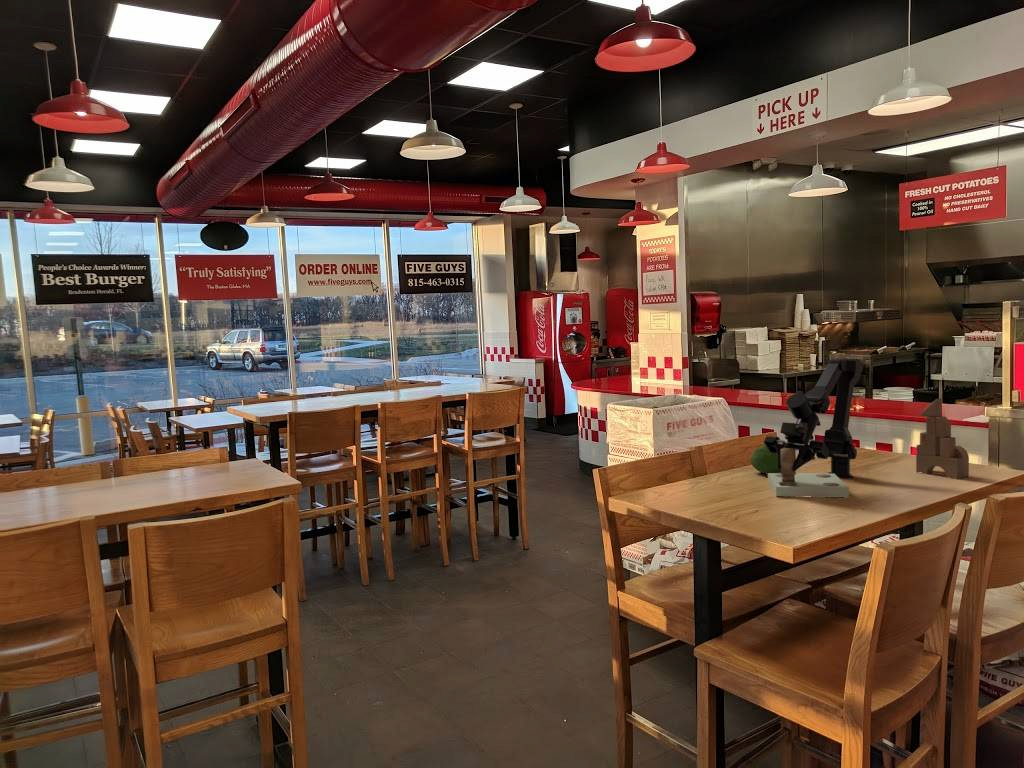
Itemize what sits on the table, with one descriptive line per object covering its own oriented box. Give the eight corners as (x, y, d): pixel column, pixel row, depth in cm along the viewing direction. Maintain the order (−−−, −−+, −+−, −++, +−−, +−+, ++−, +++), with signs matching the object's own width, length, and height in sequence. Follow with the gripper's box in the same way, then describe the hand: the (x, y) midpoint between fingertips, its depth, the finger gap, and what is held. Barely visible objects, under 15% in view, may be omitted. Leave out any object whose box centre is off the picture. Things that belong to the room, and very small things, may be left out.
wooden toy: (970, 476, 231) (970, 398, 229) (957, 479, 228) (958, 400, 226) (923, 469, 245) (923, 395, 243) (911, 471, 242) (911, 397, 240)
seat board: (768, 482, 234) (767, 472, 234) (834, 482, 230) (834, 473, 229) (776, 496, 215) (775, 486, 215) (848, 497, 210) (848, 487, 210)
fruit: (801, 475, 243) (801, 445, 242) (783, 479, 237) (783, 449, 236) (762, 469, 255) (762, 441, 254) (745, 473, 249) (744, 444, 249)
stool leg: (778, 489, 220) (778, 448, 219) (791, 488, 220) (791, 447, 219) (785, 492, 215) (784, 450, 214) (798, 491, 216) (798, 450, 215)
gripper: (766, 410, 226) (747, 450, 219) (824, 414, 211) (805, 457, 205) (779, 432, 231) (761, 471, 225) (837, 437, 217) (819, 479, 211)
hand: (785, 469), depth 216 cm, fingers closed on stool leg, 4 cm apart
